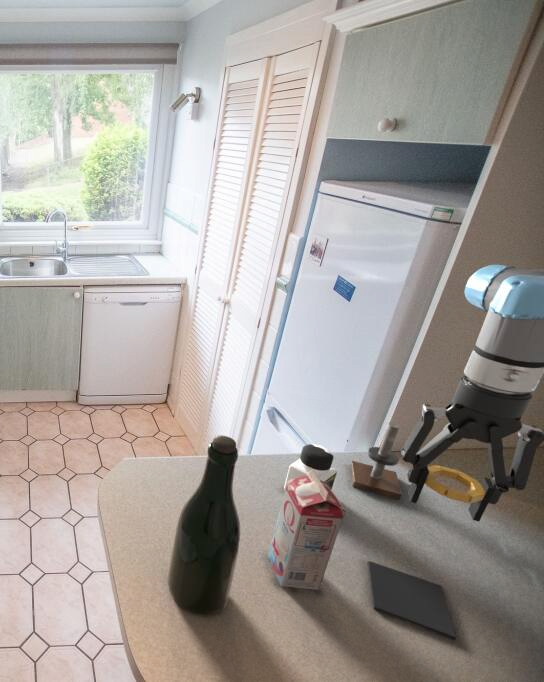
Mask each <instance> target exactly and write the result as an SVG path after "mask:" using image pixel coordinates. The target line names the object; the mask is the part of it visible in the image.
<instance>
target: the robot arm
mask: <svg viewBox="0 0 544 682" xmlns="http://www.w3.org/2000/svg"><path fill="white" fill-rule="evenodd" d="M464 297H465V299H466V300H467V301H468V302H469V303H470V304H471V305H473V306H475V307H477V308H480V309H482V311H484V312H487V314H486V316H485V319H484V320H483V324H482V326H481V329H480V331H479V333H478V337H477V339H476V342H475V344H474V347H473V349H472V351H471V354H470V356H469V358H468V361H467V363H466V365H465V367H464V370H463V374H464V376H462V377H461V378H460V380H459V382H458V385H457V388H456V390H455V392H454V395H453V397H452V400H451V401H450V402H449V403H448V404H447V405H445V406H444V407H440V406H439V407H438V406H437V407H436V406H432V405H430V404H429V403H423V404H422V405H421V407H420V409H421V410H420V417H419V419H418V420H417V422H416V424H415V425H414V427H413V429H412V431H411V432H410V433H409V436H408V437H407V438H406V440H405V442H404V444H403V445H402V447H401V449H400V453H401V458H402V461H404V462H405V463H409V464H410V466H409V469H408V471H407V474H406V475H407V480H408V483H410V486H409V488H408V491H407V496H408V498H409V502H410V503H411V504H415V505H416V504H417V503H418V501H419V498H420V496H421V493H422V491H423V488H424V486H425V485H426V484H425V481H426V479H427V477H428V474H429V470H428V467H429V466H428V465H430V464H431V463H432V462H433V461H434V460H436V459H437V458H438V457H439V456H441V455H442V454H444V452H445V451H447V450H448V449H449V448H450V447H451V446H453V445H454V444H455V443H459V442H460V441H461V440H462V439H466V440H475V441H478V442H481V443H483V444H486V448H487V456H488V464H489V471H490V477H491V478H488V477H485V476H483V477H482V479H481V481H480V483H481V485H482V487H483V489H484V491H485V496H484V498H483V500H481V501H477V502H473V503H469V504H470V505H469V506H468V510H467V511H468V512H469V514H470V516H471V519H472V521H476V522H480V521H481V519H482V517H483V515H484V513H485V511H486V509H487V507H488V505H489V504H490V505H496V504H497V503H498V502H499V501H500V498H501V496H502V494H503V493H504V494H505V493H508V492H509V490H510V489H515V490H517V491H524V490H525V489H526V486H527V483H528V480H529V477H530V474H531V469H532V467H533V462H534V459H535V455H536V452H537V449H538V447H539V446H540V445H541V444H542V443H543V442H544V432H543V431H542V430H541V428H540V427H539V426H538V425H535V424H531V425H528V424H525V423H522V418H523V416H524V414H525V413H526V410H527V408H528V407H529V404H530V402H531V400H532V398H533V394H532V392H534V391H536V389H537V388H538V385H539V383H540V382H541V379H542V377H543V375H544V269H521V268H517V267H515V266H513V265H503V264H490V265H487V266H484V267H481V268H479V269H477V270H476V271H475V272H474V273H473V274H472V275H471V276H470V277H469V278H468V280H467V282H466V284H465V288H464ZM442 417H446V418H447V420H448V423H447V424H445V426H444V427H443V429H442V430H441V431H440V432H438V434H436V435H435V436H434V437H433V438H432V439H431V440H430V441H429V442H428V443H426V444H425V445H424V446H422V445H423V444H424V442H425V441H426V439H427V438H428V436H429V434H430V433H431V431H432V429H433V428H434V425H435V423H438V422H439V421H440V420H441V419H442ZM515 433H517V436H518V437H519V438H518V439H517V444H516V446H515V451H514V455H513V458H512V462H511V465H510V469H509V473H508V475H506V474H507V473H506V465H505V460H504V459H505V457H504V444H503V439H504V438H506V437H508V436H511V435H513V434H515Z"/></svg>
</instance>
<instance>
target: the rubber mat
mask: <svg viewBox="0 0 544 682" xmlns="http://www.w3.org/2000/svg"><path fill="white" fill-rule="evenodd" d="M367 569H368V576H369V584H370V585H369V586H370V592H371V601H372V609H373V610H374V611H378V612H379V613H383V614H386V615H388V616H391V617H393V618H396V619H399V620H401V621H404V622H407V623H409V624H412V625H415V626H418V627H420V628H422V629H425V630H428V631H431V632H434V633H436V634H439V635H441V636H444V637H447V638H450V639H451V640H456V639H457V635H456V632H455V628H454V625H453V621H452V618H451V614H450V611H449V608H448V604H447V600H446V597H445V594H444V590H443V587H442V584H438V583H436V582H433V581H429V580H426V579H424V578H421V577H418V576H414V575H411V574H409V573H406V572H403V571H400V570H398V569H394V568H392V567H388V566H386V565H382V564H379V563H376V562H373V561H370V560H367Z"/></svg>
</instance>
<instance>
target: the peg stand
mask: <svg viewBox="0 0 544 682" xmlns="http://www.w3.org/2000/svg"><path fill="white" fill-rule="evenodd" d="M399 429H400V425H398V424H396V423H394V422H389V423H388V424H387V427H386V429H385V432H384V435H383V437H382V440H381V444H380V446H372V447H371V446H370V447H369V448H368V449H367V453H366V454H367V456H368V458H369V459H371V460H372V461H374V464H373V465H370V464H366V463H362V462H359V461H355V460H351V463H350V473H351V480H352V481H351V482H352V483H351V484H352V487H353V488H357V489H360V490H364V491H366V492H370V493H374V494H378V495H381V496H385V497H389V498H393V499H395V500H399V501H400V500H401V498H402V495H403V494H402V491H401V487H400V483H399V478H398V475H397V472H396V471H393V470H390V469H386V466H388V467H394V466H397V465H398V464H399V461H400V458H399V456H398V455H397V454H396V453H395V452H393V451H392V448H393V446H394V444H395V441H396V439H397V435H398V432H399Z"/></svg>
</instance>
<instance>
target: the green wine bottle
mask: <svg viewBox="0 0 544 682" xmlns="http://www.w3.org/2000/svg"><path fill="white" fill-rule="evenodd" d="M206 453H207V454H206V455H207V456H206V461H205V466H204V470H203V474H202V477H201V480H200V481H199V484H198V485H197V487H196V489H195V490H194V491H193V492H192V494H191V495H190V497H189V498H188V499H187V500H186V502H185V503H184V504H183V507H182V508H181V511H180V513H179V516H178V520H177V525H176V528H175V533H174V539H173V545H172V551H171V556H170V561H169V568H168V574H167V588H168V590H169V593H170V594H171V596H172V599H174V601H175V602H176V603H177V604H178V606H180V607H181V608H182V609H184V610H186V611H188V613H189V612H190V613H192V614H195V615H197V616H202V617H204V616H205V617H210V616H215V615H217V614H219V613H221V612H222V611H223V610H224V609H225V608H226V607H227V605H228V602H229V600H230V599H229V598H230V595H231V590H232V586H233V580H234V574H235V570H236V565H237V560H238V555H239V554H238V553H239V550H240V549H239V548H240V539H241V521H240V518H239V513H238V510H237V509H238V508H237V506H236V502H235V498H234V476H235V469H236V464H237V462H238V458H239V451H238V448H237V442H236V441H235V439H234V438H232V437H230V436H228V435H215V437H213V439H212V441H211V442H210V443H209V445H208V447H207V451H206Z"/></svg>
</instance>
